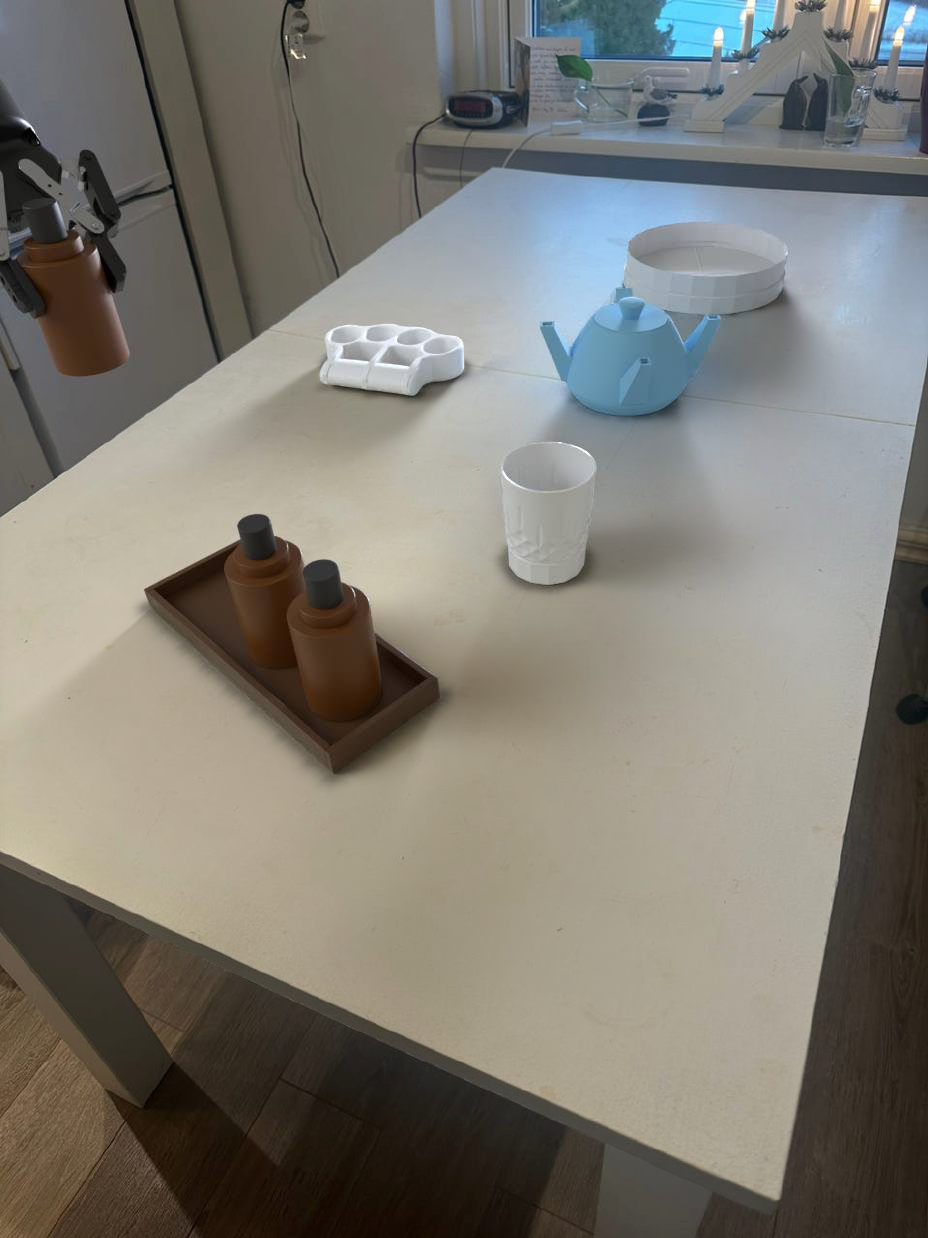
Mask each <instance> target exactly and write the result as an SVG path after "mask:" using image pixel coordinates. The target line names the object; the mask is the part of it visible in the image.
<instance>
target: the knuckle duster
mask: <svg viewBox="0 0 928 1238" xmlns="http://www.w3.org/2000/svg"><path fill="white" fill-rule="evenodd" d="M324 344H325V349H326V350H325V351H326V355H327V359H325V361H324V362H323V364H322V366H321V368H320V370H319V371H320V372H319V381H320V383H321V384H323V385H328V386H340V387H347V388H353V389H354V388H355V389H362V390H366V391H377V392H385V393H390V394H391V393H393V394H400V395H406V396H410V397H412V396H415V395H418V393H419V392H420V390H421V389H422V388H423V386H424V385H428V384H430V383H433V382H445V381H451V380H453V379H455V378H457V377H459V376H460V375H462V374H463V372H464V371H465V356H464V355H465V354H464V342H463V341H462V339H461V338H460V337H458V336H457V335H448V334H447V335H446V334H440V333H437V332H435V331H433V330H431V329H430V328H426V327H422V326H402V325H398V324H395V323H378V324H374V325H355V324H345V325H339V326H336V327H334V328H331V329H330V330H329V331H327V332H326V333H325V336H324Z"/></svg>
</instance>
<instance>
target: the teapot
mask: <svg viewBox="0 0 928 1238" xmlns="http://www.w3.org/2000/svg"><path fill="white" fill-rule="evenodd" d="M720 315H721V314H715V315H704V317H703V319H702V321H701V322H700V323H699V324H698V326H696V328H695V329H694V331H693V332H691V334H690V336H689V337H688V338H687V339H686V341H685V342H683V339H682V337H681V335H680V333H679V331H678V329H677V328H676V326H675V324H674V321H673V320H672V318H671V316H669V314H668V313H667V312H666V310H664V309H661V308H659V307H656V306H653V305H650V304H645V301H644V300H643V299H641V298H637V297H633V292H632V288H625V287H618V288H617V287H616V288H615V293H614V303H610V304H607V305H604V306H602V307H600V308H599V309H597V310H596V311H595V312H593V314H592V315H591V316H590V317H589V318H588V320H587V321H586V323H585V324H584V325H583V327H582V329H581V330H580V331H579V333H578V334H577V336H576V338H574V339H575V340H574V341H573V343H572V345H571V346H570V345H569V344H568V342H567V341H566V339H565V338H564V336H563V334H562V333H561V331H560V330H559V328H558V327H557V326H556V324H555V321H553V320H552V321H540V322H539V323H540V324H539V329H540V332H541V334H542V337H543V339H544V342H545V344H546V347H547V349H548V351H549V354H550V356H551V359H552V362H553V364H554V366H555V369H556V372H557V374H558V376H559V377H560V380H561V381H562V382H565V384H566V387H567V388H568V390H569V391H570V392H571V394H572V395H573V396H574V397H575V398H576V400H578V401H579V402H580V404H581V405H583V406H585V407H586V408H588V409H590V410H593V411H595V412H598V413H601V414H605V415H611V416H618V417H619V416H621V417H635V416H636V417H637V416H644V415H648V414H653V413H656V412H658V411H659V412H660V411H661V410H663V409H665V408H666V407H668V406H669V405H671V404H672V403H673V402H674V401H675V400H676V399H678V398H679V397H680V396H681V395H682V393H683V392H684V391H685V390H686V388H687V386H688V382H689V379H692V378H694V377H695V376H696V374H697V372H698V370H699V367H700V365H702V362H703V360H704V357H705V356H706V354H707V352H708V350H709V347H710V345H711V344H712V342H713V339H714V337H715V336H716V334H717V331H718V329H719V328H720V326H721V323H722V321H723V319H722V316H720Z"/></svg>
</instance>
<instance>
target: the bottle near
mask: <svg viewBox="0 0 928 1238" xmlns="http://www.w3.org/2000/svg"><path fill="white" fill-rule="evenodd" d="M304 566H305V568H304V569H303V577H304V582H305V586H306V589H305V590H304V591H303V592H302V593H301V594H300V595H298V596H297V597H296V598H295V599H294V600H293V601H292V602H291V604H290V606H289V608H288V611H287V621H288V625H289V630H290V634H291V638H292V642H293V646H294V650H295V654H296V659H297V663H298V667H299V671H300V675H301V679H302V683H303V688H304V692H305V696H306V700H307V704H308V706H309V708H310V710H311V711H312V712H313V713H314V714H315V715H316V716H318V717H320V718H322V719H324V720H327V721H331V722H348V721H353V720H356V719H359V718H361V717H363V716H365V715H367V714H368V713H370V712H371V711H372V710H373V709H374V708H375V707H376V706H377V705H378V704H379V702H380V700H381V698H382V694H383V685H382V679H381V672H380V666H379V659H378V653H377V646H376V640H375V633H376V632H375V627H374V622H373V621H374V620H373V615H372V608H371V603H370V599H369V597H368V596H367V594H365V592H364V591H362V590H361V589H360V588H358V587H355V586H353V585H350V584H347V583H345V582H343V581H342V580H341V579H342V578H341V574H340V567H339V565H338V563H337V562H335V561H334V560H331V559H325V558H324V559H321V558H320V559H316V560H313V561H310V562H309V563H307V564H306V565H304ZM374 632H375V633H374Z"/></svg>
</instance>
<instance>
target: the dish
mask: <svg viewBox="0 0 928 1238" xmlns="http://www.w3.org/2000/svg"><path fill="white" fill-rule="evenodd" d="M788 254H789V252H788V246H787V245H786V243H785V242H784V241H783V240H782V239H781V238H779V237H777V236H775V235H773V234H771V233H770V232H767V231H764V230H761V229H759V228H755V227H751V226H747V225H742V224H736V223H727V222H718V221H717V222H716V221H689V222H677V223H670V224H664V225H660V226H656V227H655V226H654V227H652V228H649V229H648V228H647V229H646V230H644V231H642V232H640V233H638V234H635V235H634V236H633V237H632V238H631V239H630V240H629V241H628V244H627V248H626V261H625V264H624V268H623V270H624V271H623V287H624V288H632V292H633V297H637V298H641V299H643V300H644V301H645V304H650V305H653V306H656V307H659V308H661V309H662V310H664V311H668V312H674V313H681V314H687V315H704V316H705V315H731V314H736V313H741V312H747V311H752V310H756V309H758V308H761V307H764V306H767V305H768V304H770V303H772V302H773V301H774V300H777V298H778V297H779V296H780V294H781V292H782V291H783V286H784V281H785V276H786V264H787V259H788Z"/></svg>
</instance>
